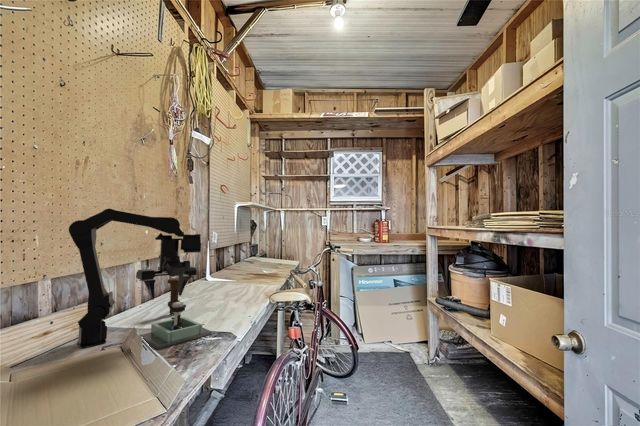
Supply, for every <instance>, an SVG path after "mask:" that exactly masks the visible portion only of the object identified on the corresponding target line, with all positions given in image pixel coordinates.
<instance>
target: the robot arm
mask: <svg viewBox="0 0 640 426" xmlns="http://www.w3.org/2000/svg"><path fill="white" fill-rule="evenodd" d="M112 221H113V222H118V223H124V224H130V225H136V226H142V227H147V228H148V227H149V228H151V229H154V230H156V231H160V233H159V234H158V236H156V237H155V238H154V239H155V241H160V250H159V251H160V252H159V253H160V254H159V255H158V259H159V266H158V267H157V270H154V269H150V268H147V269H138V270H137V271H136V274H135V276H136V277H135V278H136V280H137V279H138V280H139V281H141V282H143V283H144V285H145V287H146V288H147V291H148V293H149V296H150V299H151V300H155V283H156V279H154V278H155V277H163V276H169V277H171V278H172V277H174V278H175V277H178V278H179V288H178V297H181V296H182V294H183V292H184V290H185V287H186V285H187V284H188V282H189V281H190V279H193V278H194V276H197V275H198V269H197V268H196V267H195V266H191V262H190V261H189V260H183V261H181V259H180V255H179V243H180V251H183V253H184V254H185V253H189V254H190V253H193V254H194V253H201V250H202V243H201V242H202V241H201V238H202V237H201V233H196V234H185V232H184V231H182V229H181V227H180V226H181V224H180V222H179V220H178V219H177V218H176V217H170V216H169V217H168V216H147V215H143V214H137V213H131V212H127V211H121V210H116V209H114V208H105V209H103V210H102V211H100V212H99V213H96V214H94V215H92V216H89V217H88V218H85V219H83V220H82V219H80V220H75V221H73V222H72V223H71V224H70V225H69V227H68V233H69V236H70V237H71V239H72V241H73V243H74V244H75V247H77V249H78V251H79V255H80V260H81V264H82V269H83V273H84V277H85V282H86V285H87V286H86V287H87V291H88V298H87V312H86V313H85V314H84V315H83V316H82V317H81V318H80V319H79V320H78V322H77V324H78V340H77V341H76V344H77V345H78V347H79V348H80V349H85V348H88V347H92V346H96V345H101V344H106V343H107V337H108V325H106V321H105V320H104V319H106V318H107V317H108V316H109V314H110V313H111V312H112V310H113V309H114V305H115V304H116V301H115V300H114V296H113V291H109V292H108V291H107V289H106V288H105V284H104V280H103V276H102V271H101V268H100V267H101V265H100V263H99V258H98V254H97V249H96V243H97V230H98V229H101V228H103V227H104V226H106V225H107V224H109V223H111V222H112ZM162 232H163V233H166V234H162ZM167 234H169V235H167ZM173 235H175V236H177V238H175V237H174V238H173Z"/></svg>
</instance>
